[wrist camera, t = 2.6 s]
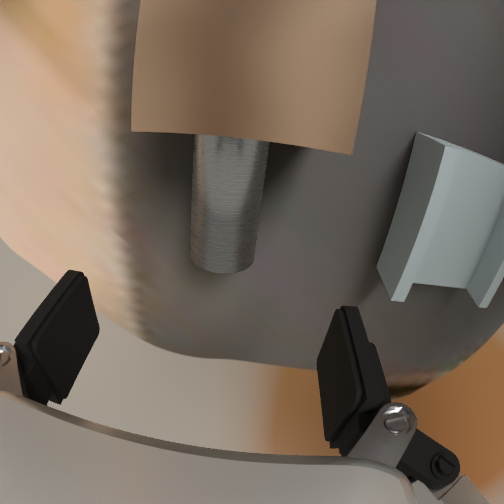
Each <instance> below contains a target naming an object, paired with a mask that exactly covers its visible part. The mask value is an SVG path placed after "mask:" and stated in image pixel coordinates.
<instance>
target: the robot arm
mask: <svg viewBox="0 0 504 504" xmlns="http://www.w3.org/2000/svg"><path fill="white" fill-rule="evenodd" d="M98 335H99V323H98V320H97V316H96V312H95V308H94V304H93V300H92V296H91V292H90V288H89V283H88V279H87V277H86V276H84V274H83V272H80V271H74V270H68V271H67V272H66V273H65V275H64V276H63V277H62V278H61V279H60V281H59V282H58V283H57V284H56V286H55V287H54V288H53V289H52V290H51V292H50V293H49V294H48V296H47V297H46V298H45V299H44V301H43V302H42V303H41V305H40V306H39V307H38V308H37V310H36V311H35V312H34V314H33V315H32V316H31V318H30V319H29V321H28V322H27V323H26V325H25V326H24V328H23V329H22V330H21V332H20V333H19V335H18V336H17V337H16V339H15V342H16V343H15V344H14V346H13V345H12V344H10V343H8V342H0V504H489V503H488V501H487V500H486V499H485V498H484V497H483V495H482V494H481V493H480V492H479V491H478V489H477V488H476V487H475V486H474V485H473V484H472V482H471V481H470V480H469V479H468V477H467V476H466V475H463V476H461V475H460V473H459V472H460V464H459V460H458V458H457V457H456V455H455V454H453V453H452V452H451V451H449V450H448V449H446V448H445V447H443V446H442V445H440V444H439V443H437V442H435V441H434V440H433V439H431V438H430V437H428V436H427V435H425V434H424V433H422V432H421V431H419V430H418V429H416V427H417V418H416V416H415V414H414V412H413V411H412V410H411V409H410V408H409V407H408V406H406V405H404V404H402V403H397V402H393V403H392V402H391V398H390V395H389V391H388V387H387V384H386V380H385V377H384V373H383V370H382V367H381V363H380V360H379V357H378V353H377V350H376V347H375V345H374V344H373V343H369V341H368V338H367V334H366V331H365V328H364V325H363V322H362V319H361V315H360V312H359V309H358V308H357V307H353V306H341V308H340V309H336V310H335V313H334V315H333V318H332V321H331V324H330V326H329V329H328V332H327V334H326V337H325V340H324V342H323V345H322V347H321V350H320V353H319V355H318V358H317V372H318V380H319V389H320V398H321V405H322V406H321V407H322V416H323V426H324V435H325V440H326V441H330V448H339V452H340V454H341V455H342V456H298V455H276V454H258V453H246V452H236V451H227V450H218V449H211V448H204V447H197V446H191V445H185V444H180V443H174V442H169V441H164V440H159V439H154V438H150V437H146V436H142V435H137V434H133V433H129V432H125V431H122V430H118V429H114V428H111V427H107V426H104V425H101V424H97V423H94V422H91V421H88V420H85V419H82V418H79V417H76V416H73V415H70V414H67V413H65V412H62V411H59V410H56V409H54V408H51V407H48V406H47V403H48V401H49V400H50V401H52V402H54V403H57V404H61V403H62V400H63V399H66V398H67V396H68V394H69V392H70V390H71V388H72V386H73V384H74V382H75V380H76V378H77V375H78V374H79V372H80V370H81V368H82V366H83V364H84V362H85V360H86V358H87V356H88V354H89V352H90V350H91V348H92V346H93V344H94V342H95V340H96V339H97V337H98Z"/></svg>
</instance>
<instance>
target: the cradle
mask: <svg viewBox="0 0 504 504" xmlns="http://www.w3.org/2000/svg"><path fill="white" fill-rule="evenodd" d="M376 267H377V270H378V272H379V274H380V276H381V279H382V281H383V283H384V286H385V288H386V290H387V293H388V295H389V297H390V300H391V301H400V302H404V301H405V299H406V297H407V295H408V292H409V290H410V288H411V286H412V284H413V283H419V284H428V285H437V286H446V287H455V288H464V289H467V291H468V292H469V294H470V295H471V297H472V298H473V300H474V301H475V303H476V304H477V306H478V307H480V308H487V307H488V305H489V303H490V301H491V300H492V298H493V296H494V294H495V293H496V291H497V289H498V287H499V285H500V283H501V281H502V280H503V278H504V164H502V163H500V162H497V161H495V160H493V159H490V158H488V157H486V156H483V155H481V154H478V153H476V152H473V151H471V150H468V149H466V148H463V147H460V146H458V145H455V144H452V143H450V142H447V141H444V140H441V139H438V138H435V137H432V136H429V135H426V134H423V133H420V132H416V135H415V140H414V144H413V148H412V152H411V156H410V160H409V164H408V168H407V172H406V176H405V179H404V183H403V186H402V190H401V193H400V197H399V200H398V204H397V207H396V210H395V213H394V217H393V220H392V223H391V226H390V229H389V232H388V235H387V238H386V241H385V244H384V247H383V250H382V252H381V255H380V258H379V261H378V264H377V266H376Z"/></svg>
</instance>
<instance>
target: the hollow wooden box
mask: <svg viewBox="0 0 504 504" xmlns="http://www.w3.org/2000/svg"><path fill="white" fill-rule="evenodd" d="M375 8H376V0H141V3H140V10H139V18H138V26H137V35H136V45H135V56H134V69H133V85H132V110H131V131H135V132H167V133H186V134H201V135H213V136H224V137H234V138H244V139H253V140H261V141H269V142H276V143H283V144H290V145H297V146H303V147H309V148H315V149H321V150H326V151H332V152H337V153H342V154H347V155H352V153H353V148H354V143H355V138H356V133H357V128H358V123H359V117H360V112H361V106H362V101H363V95H364V89H365V83H366V77H367V70H368V64H369V57H370V50H371V42H372V35H373V26H374V18H375Z"/></svg>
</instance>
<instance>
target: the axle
mask: <svg viewBox="0 0 504 504" xmlns="http://www.w3.org/2000/svg"><path fill="white" fill-rule="evenodd" d="M269 143H270V142H269V141H261V140H253V139H244V138H234V137H224V136H213V135H201V134H195V138H194V155H193V176H192V203H191V259H192V261H193V262H194V263H195V264H196V265H197V266H198V267H200V268H202V269H204V270H206V271H209V272H213V273H220V274H230V273H237V272H240V271H243V270H245V269H247V268H248V267H250V266H251V264H252V263H253V261H254V255H255V247H256V240H257V233H258V225H259V218H260V210H261V203H262V196H263V188H264V181H265V173H266V166H267V158H268V151H269Z"/></svg>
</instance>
